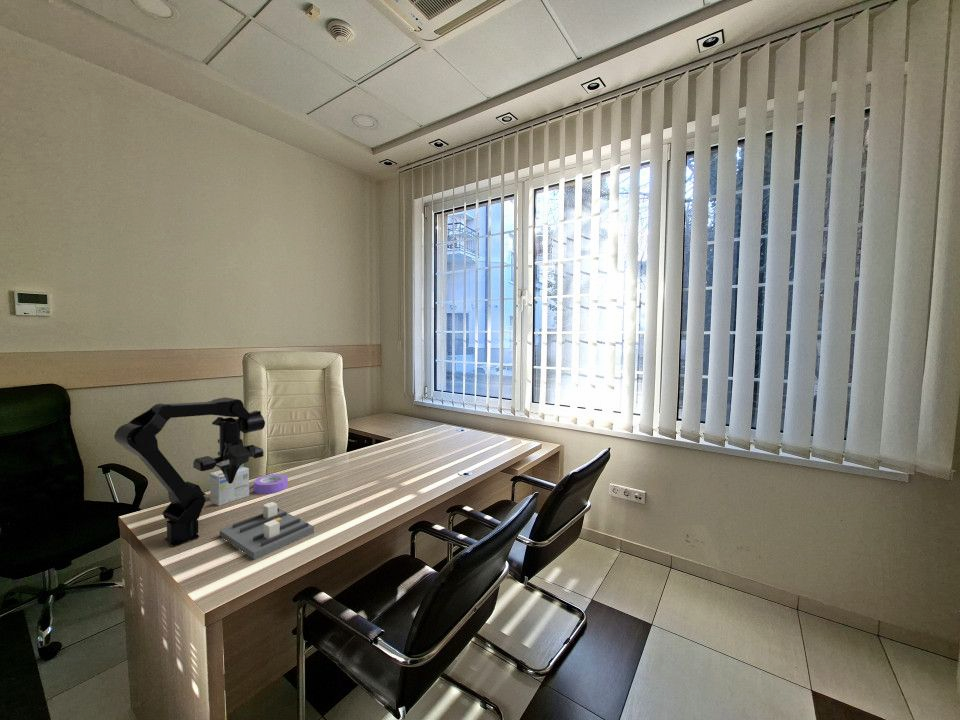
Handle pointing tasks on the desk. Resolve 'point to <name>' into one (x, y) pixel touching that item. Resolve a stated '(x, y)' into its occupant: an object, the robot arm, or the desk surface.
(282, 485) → the masking tape
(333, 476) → the desk surface
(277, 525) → the tab
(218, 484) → the light bulb box
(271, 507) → the tab
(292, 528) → the switch board
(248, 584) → the desk surface
